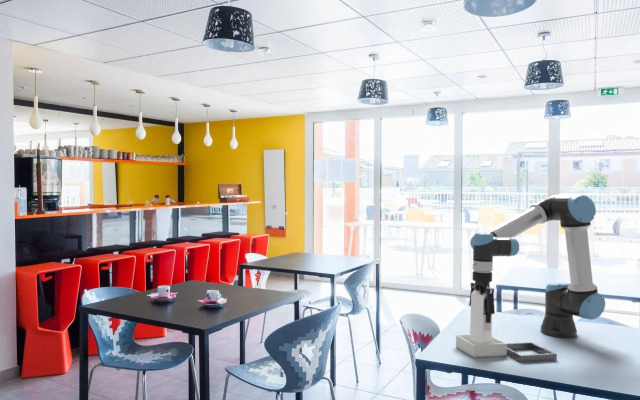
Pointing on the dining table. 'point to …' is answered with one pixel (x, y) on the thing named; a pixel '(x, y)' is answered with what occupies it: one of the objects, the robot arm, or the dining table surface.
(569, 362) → the dining table surface
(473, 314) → the milk
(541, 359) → the collar
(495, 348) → the bin
